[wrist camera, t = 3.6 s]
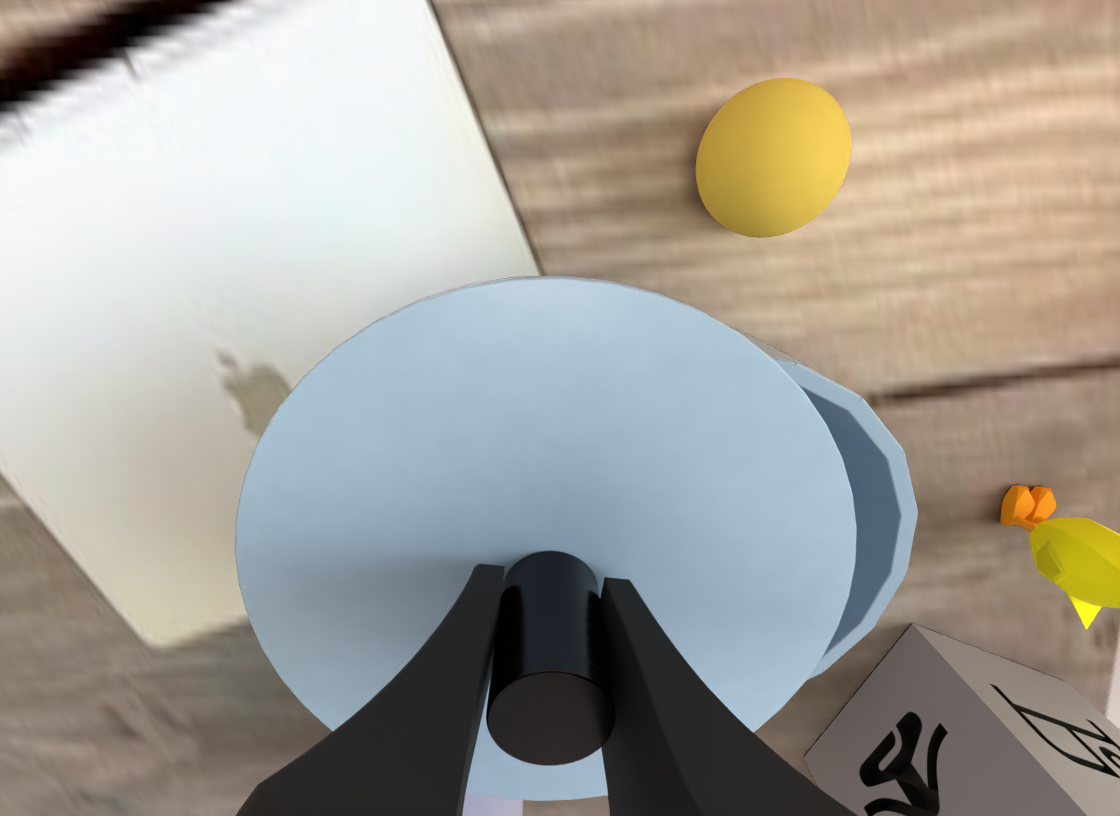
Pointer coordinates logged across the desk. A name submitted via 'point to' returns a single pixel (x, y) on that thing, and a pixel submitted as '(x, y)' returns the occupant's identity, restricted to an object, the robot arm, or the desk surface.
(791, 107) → the ball
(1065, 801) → the icon cube
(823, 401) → the pot
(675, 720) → the robot arm
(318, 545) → the lid
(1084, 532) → the toy figure
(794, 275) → the desk surface
